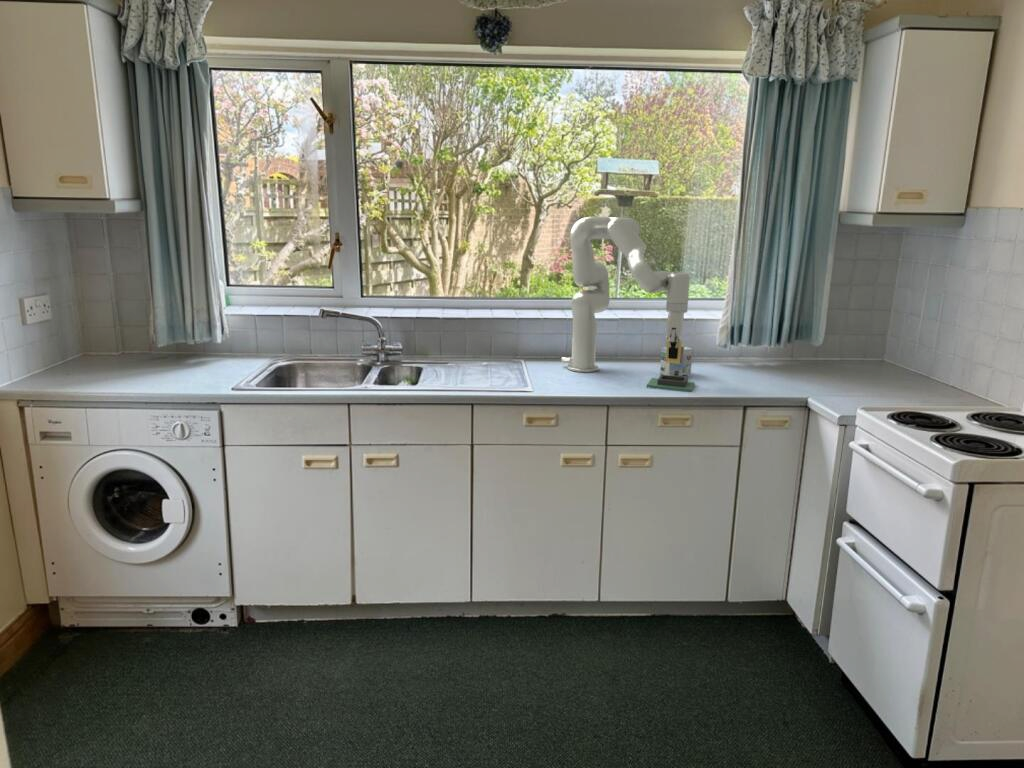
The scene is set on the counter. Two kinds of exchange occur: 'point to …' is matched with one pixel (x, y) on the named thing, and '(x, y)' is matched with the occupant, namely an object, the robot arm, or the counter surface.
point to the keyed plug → (680, 353)
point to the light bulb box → (674, 368)
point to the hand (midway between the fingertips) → (673, 356)
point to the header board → (671, 383)
